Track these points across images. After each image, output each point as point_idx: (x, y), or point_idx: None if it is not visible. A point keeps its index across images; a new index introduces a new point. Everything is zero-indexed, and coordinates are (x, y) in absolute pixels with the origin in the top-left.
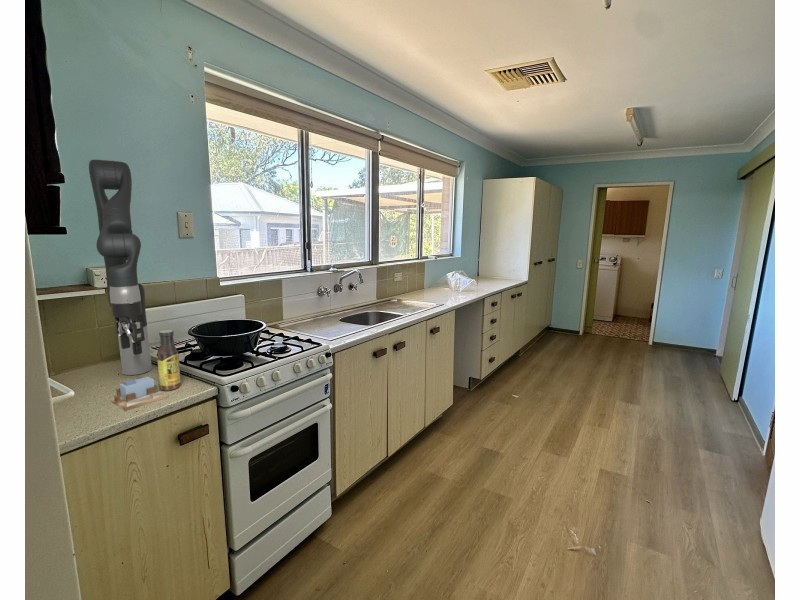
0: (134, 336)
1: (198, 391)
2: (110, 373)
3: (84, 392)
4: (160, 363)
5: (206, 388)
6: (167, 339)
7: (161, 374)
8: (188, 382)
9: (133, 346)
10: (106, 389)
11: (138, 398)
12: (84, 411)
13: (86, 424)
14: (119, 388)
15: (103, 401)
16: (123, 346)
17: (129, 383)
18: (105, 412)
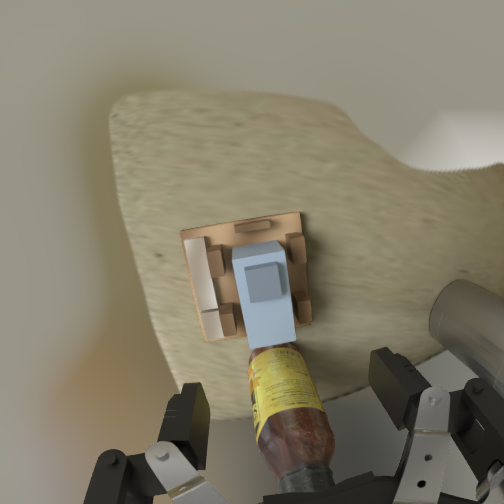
0: (101, 486)
1: None
2: (477, 256)
3: (413, 175)
4: (276, 404)
5: None
6: None
7: (268, 375)
8: None
9: (174, 422)
10: (397, 224)
11: (208, 277)
12: (267, 139)
13: (162, 133)
14: (302, 246)
15: (310, 195)
16: (378, 362)
17: (246, 279)
18: (213, 183)
